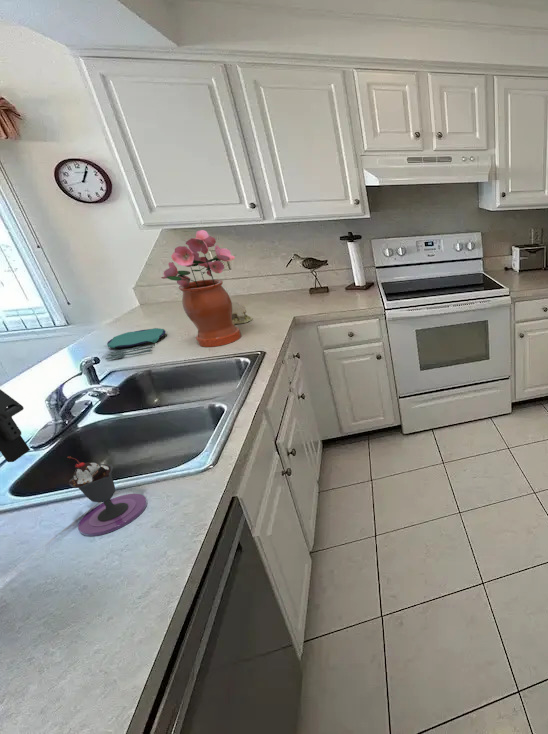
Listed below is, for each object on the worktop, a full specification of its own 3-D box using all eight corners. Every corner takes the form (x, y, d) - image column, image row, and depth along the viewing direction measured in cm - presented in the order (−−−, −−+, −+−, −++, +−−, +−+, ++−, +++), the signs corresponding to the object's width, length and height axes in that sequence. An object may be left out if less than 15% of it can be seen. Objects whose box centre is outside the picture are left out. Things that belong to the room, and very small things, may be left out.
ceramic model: (249, 315, 204) (243, 296, 200) (254, 321, 197) (248, 301, 192) (216, 322, 196) (209, 302, 192) (220, 328, 188) (213, 308, 184)
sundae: (91, 511, 87) (57, 455, 80) (132, 495, 91) (102, 440, 84) (91, 530, 82) (54, 471, 76) (134, 512, 86) (102, 455, 80)
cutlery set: (171, 329, 189) (169, 324, 188) (157, 352, 165) (155, 347, 164) (116, 338, 181) (114, 333, 180) (93, 363, 157) (91, 358, 156)
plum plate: (64, 535, 82) (62, 532, 82) (114, 495, 92) (112, 492, 92) (114, 537, 82) (112, 534, 81) (160, 497, 91) (158, 493, 91)
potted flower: (260, 339, 175) (227, 230, 156) (188, 355, 162) (143, 238, 143) (253, 327, 189) (223, 225, 170) (187, 340, 176) (146, 232, 157)
